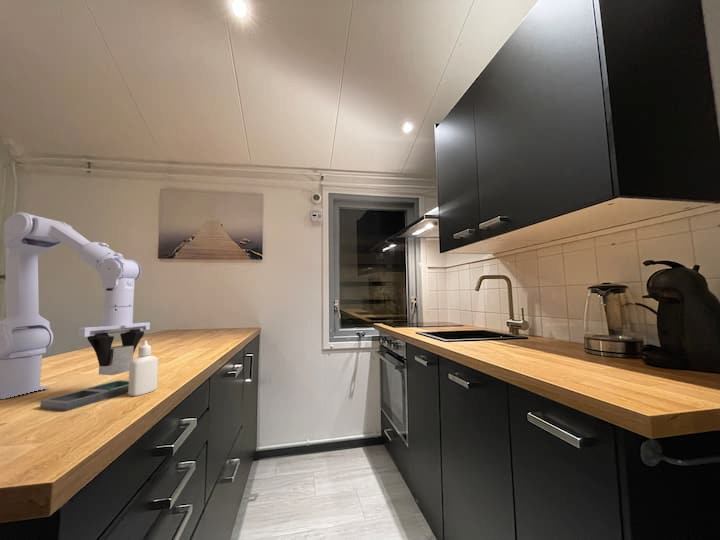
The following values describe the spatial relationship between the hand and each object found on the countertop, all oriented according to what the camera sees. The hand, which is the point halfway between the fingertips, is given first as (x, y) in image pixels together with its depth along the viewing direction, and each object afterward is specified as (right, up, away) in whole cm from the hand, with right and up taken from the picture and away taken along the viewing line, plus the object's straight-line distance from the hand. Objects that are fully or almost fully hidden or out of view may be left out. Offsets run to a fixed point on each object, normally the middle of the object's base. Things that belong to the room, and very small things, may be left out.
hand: (115, 363), depth 69 cm
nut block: (0, -2, 0) cm, 2 cm away
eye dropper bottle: (+8, -6, -2) cm, 11 cm away
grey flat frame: (-1, -6, -4) cm, 8 cm away
